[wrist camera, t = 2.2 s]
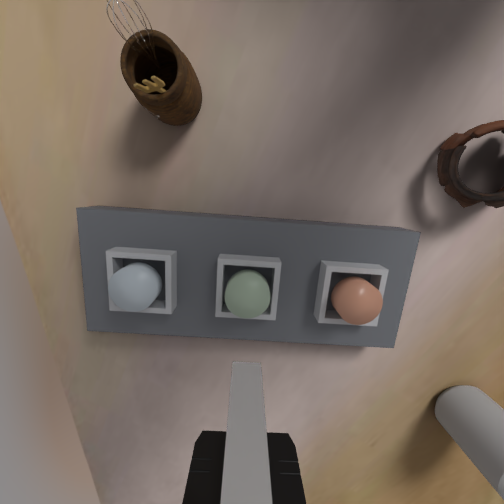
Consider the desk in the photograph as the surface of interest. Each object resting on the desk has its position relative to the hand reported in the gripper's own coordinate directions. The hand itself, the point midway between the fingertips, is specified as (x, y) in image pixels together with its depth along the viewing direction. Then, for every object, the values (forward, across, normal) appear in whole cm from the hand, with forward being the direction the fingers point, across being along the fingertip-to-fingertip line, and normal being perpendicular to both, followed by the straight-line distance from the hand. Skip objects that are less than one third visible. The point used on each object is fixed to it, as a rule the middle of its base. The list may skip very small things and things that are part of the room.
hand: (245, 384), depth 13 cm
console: (+19, 0, 0) cm, 19 cm away
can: (+19, +32, -18) cm, 41 cm away
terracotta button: (+13, +11, 0) cm, 17 cm away
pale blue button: (+13, -11, 0) cm, 17 cm away
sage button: (+13, 0, 0) cm, 13 cm away
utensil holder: (+19, -9, +19) cm, 28 cm away
